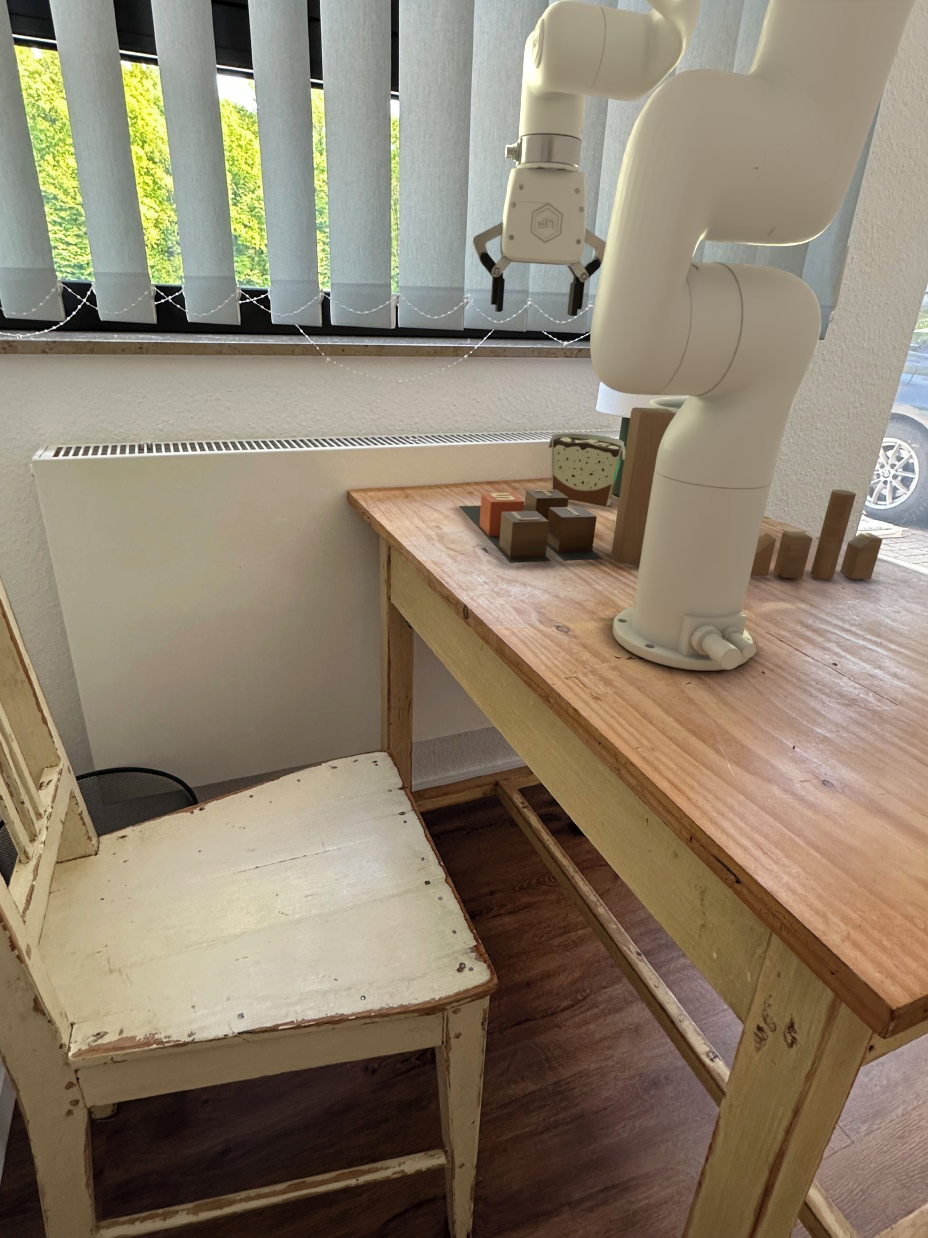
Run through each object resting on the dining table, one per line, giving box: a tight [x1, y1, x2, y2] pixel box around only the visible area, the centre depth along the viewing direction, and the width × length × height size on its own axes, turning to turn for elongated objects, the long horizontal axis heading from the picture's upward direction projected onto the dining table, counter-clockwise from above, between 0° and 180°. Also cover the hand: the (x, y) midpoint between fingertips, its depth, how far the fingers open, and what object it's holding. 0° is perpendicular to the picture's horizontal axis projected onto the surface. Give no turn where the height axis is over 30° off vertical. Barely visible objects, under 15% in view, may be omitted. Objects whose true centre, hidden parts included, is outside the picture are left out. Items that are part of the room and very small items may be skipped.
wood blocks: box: [750, 489, 883, 580], centre depth 83 cm, size 25×3×10 cm, turn 95°
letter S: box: [480, 492, 525, 536], centre depth 94 cm, size 4×4×5 cm
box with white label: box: [499, 511, 549, 559], centre depth 86 cm, size 4×4×5 cm
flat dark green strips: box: [458, 504, 604, 564], centre depth 96 cm, size 25×12×1 cm, turn 14°
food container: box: [547, 432, 626, 508], centre depth 112 cm, size 12×6×10 cm, turn 58°
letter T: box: [524, 488, 569, 520], centre depth 97 cm, size 4×4×5 cm
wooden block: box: [611, 406, 676, 565], centre depth 84 cm, size 9×4×18 cm, turn 90°
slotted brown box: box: [547, 506, 598, 553], centre depth 89 cm, size 4×4×5 cm
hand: (535, 313), depth 93 cm, fingers open, 9 cm apart
